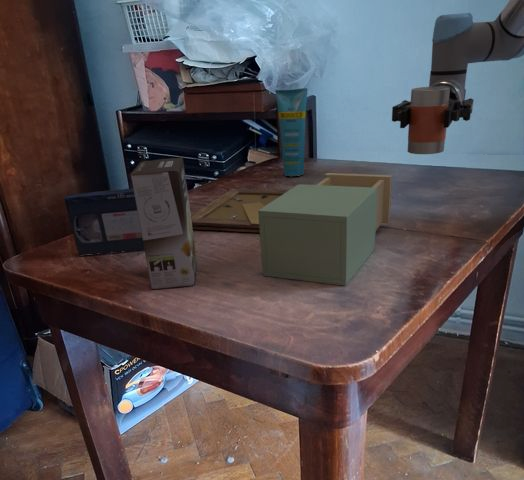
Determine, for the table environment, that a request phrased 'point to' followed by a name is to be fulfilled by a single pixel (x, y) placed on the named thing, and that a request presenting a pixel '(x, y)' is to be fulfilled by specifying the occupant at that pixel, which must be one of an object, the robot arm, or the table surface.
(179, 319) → the table surface
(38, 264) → the table surface
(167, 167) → the coffee box
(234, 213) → the picture frame
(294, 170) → the tube
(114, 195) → the vhs cassette tape
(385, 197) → the drawer
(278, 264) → the cabinet
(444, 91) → the tin can
